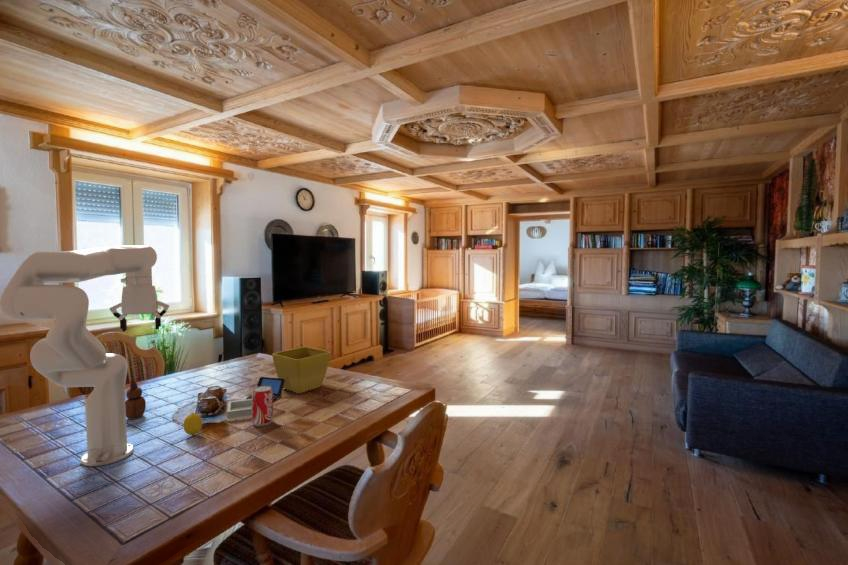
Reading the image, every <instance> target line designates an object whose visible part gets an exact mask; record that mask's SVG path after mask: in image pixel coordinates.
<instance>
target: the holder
mask: <svg viewBox="0 0 848 565" xmlns="http://www.w3.org/2000/svg"><path fill="white" fill-rule="evenodd" d="M250 418H252V399H246V398H245V399H237V400H232V401H230V400H229V401H228V404H227V409H226V422H227V421H231V422H236V421H235V420H238V421H244V420H243V419H245V420H251V419H250Z"/></svg>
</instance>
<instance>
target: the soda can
mask: <svg viewBox="0 0 848 565" xmlns="http://www.w3.org/2000/svg"><path fill="white" fill-rule="evenodd" d="M251 395H252V419H251V423H252V424H253V426H255V427H265V425H266V426H269V425H270V424H271V423H272V422H273V420H274V402H273V391H272V390H271V387H270V386H259V387H257V386H256V387H254V388H252V392H251Z"/></svg>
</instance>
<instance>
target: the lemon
mask: <svg viewBox="0 0 848 565" xmlns="http://www.w3.org/2000/svg"><path fill="white" fill-rule="evenodd" d="M202 428H203V419H202V417H201V415H200V414H198V413H195V412H191V413H190V414H188V415H187V416H186V417H185V418H184V421H183V430H184V432H185V433H186V434H187V435H189V436H190V435H191V436H192V437H193V436H194V437H195V436H196V434H198V433H199V432H200V431H201V430H202Z"/></svg>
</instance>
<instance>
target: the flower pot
mask: <svg viewBox="0 0 848 565" xmlns="http://www.w3.org/2000/svg"><path fill="white" fill-rule="evenodd" d="M330 356H331V351H328V350H323V349H320V348H314V347H311V346H310V347H309V346H301V347H297V348H291V349H287V350H283V351H282V350H281V351H277V352H273V353H272V361H273V364H274V368H275V369H274V370H275V372H276V375H277V378H280V379H284V380H285V382H284V386H283V388H285V389H287V390H286V391H288V390H290V391H289V392H291V391H293V392H292V393H295V392H296V393H295V394H298V393H300V394H303V393H302V392H304V393H306V392H305V391H307V392H309V391H308V390H310V391H312V390H311V389H313V390H315V389H314V388H316V387H319V386H321V387H322V385H323V382H324V379H325V376H326V374H327V371H328V367H329V363H330V362H329V361H330ZM285 389H284V390H285Z"/></svg>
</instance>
